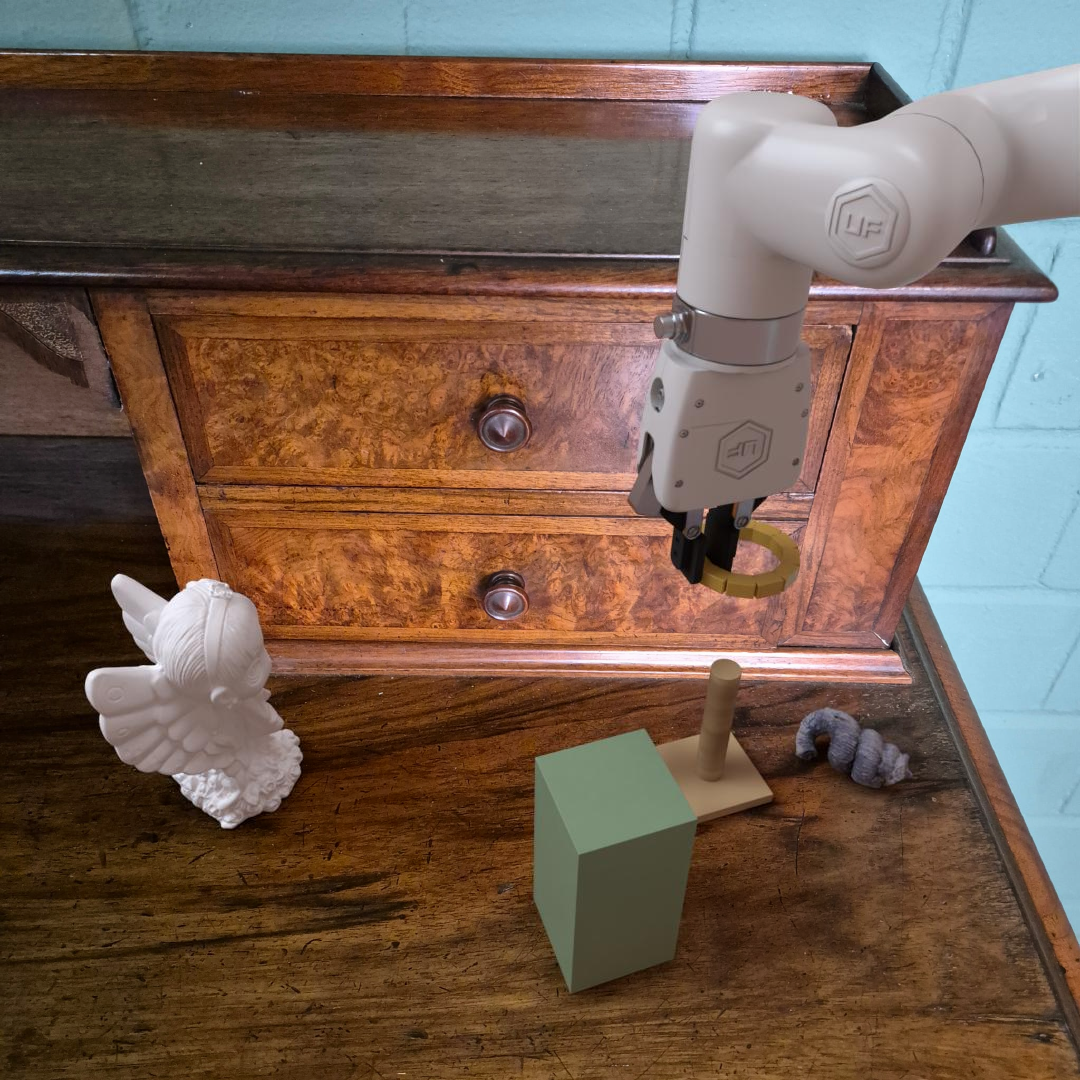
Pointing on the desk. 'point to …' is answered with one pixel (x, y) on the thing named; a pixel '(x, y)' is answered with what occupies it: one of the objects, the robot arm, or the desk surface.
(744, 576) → the ring
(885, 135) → the robot arm
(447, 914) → the desk surface
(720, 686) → the post
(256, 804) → the cherub figurine
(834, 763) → the seashell
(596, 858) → the stand
